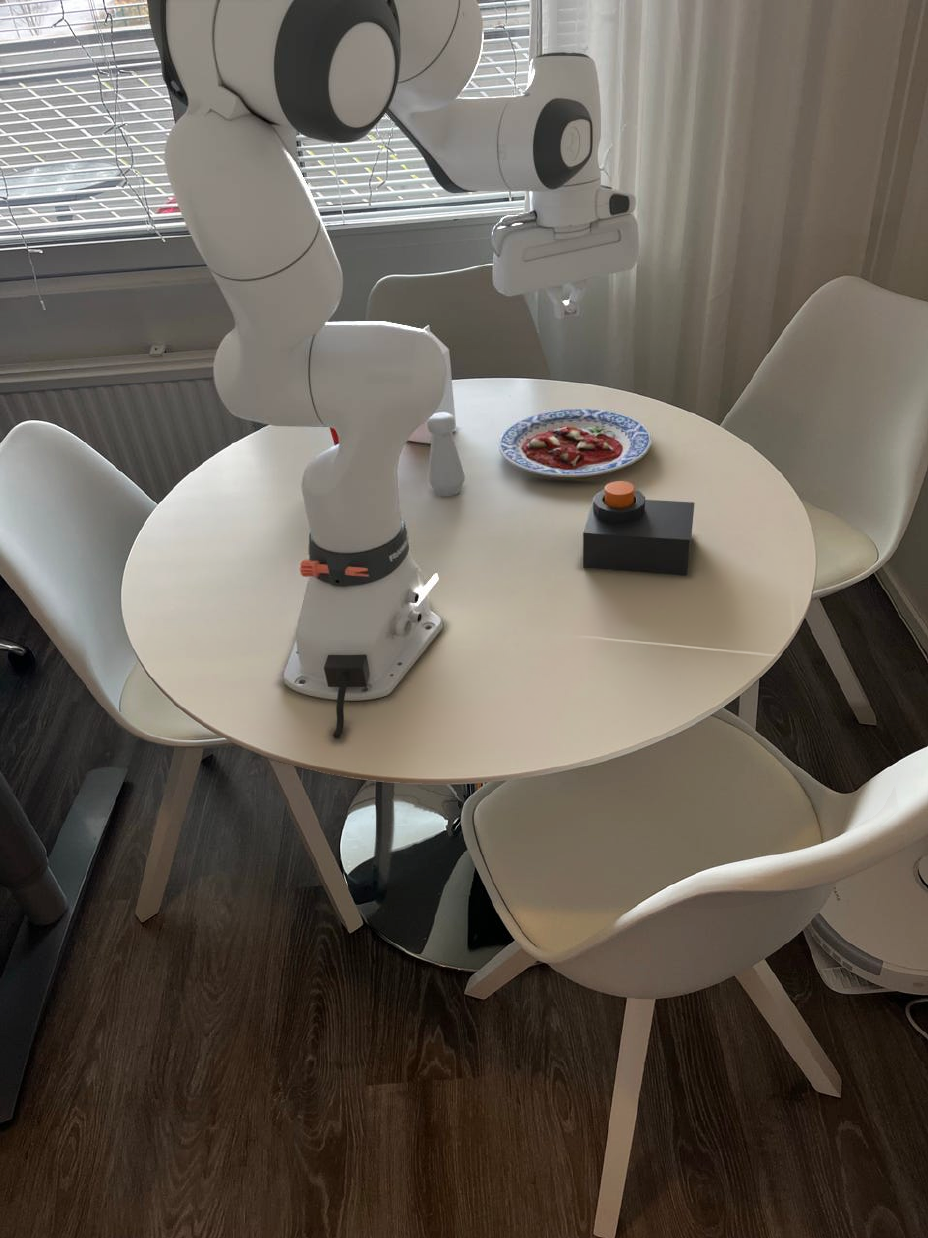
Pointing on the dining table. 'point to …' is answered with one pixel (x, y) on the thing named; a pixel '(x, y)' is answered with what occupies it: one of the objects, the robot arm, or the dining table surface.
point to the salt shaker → (444, 456)
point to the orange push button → (619, 494)
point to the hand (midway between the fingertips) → (567, 316)
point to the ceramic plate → (575, 442)
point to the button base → (639, 536)
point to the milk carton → (446, 404)
